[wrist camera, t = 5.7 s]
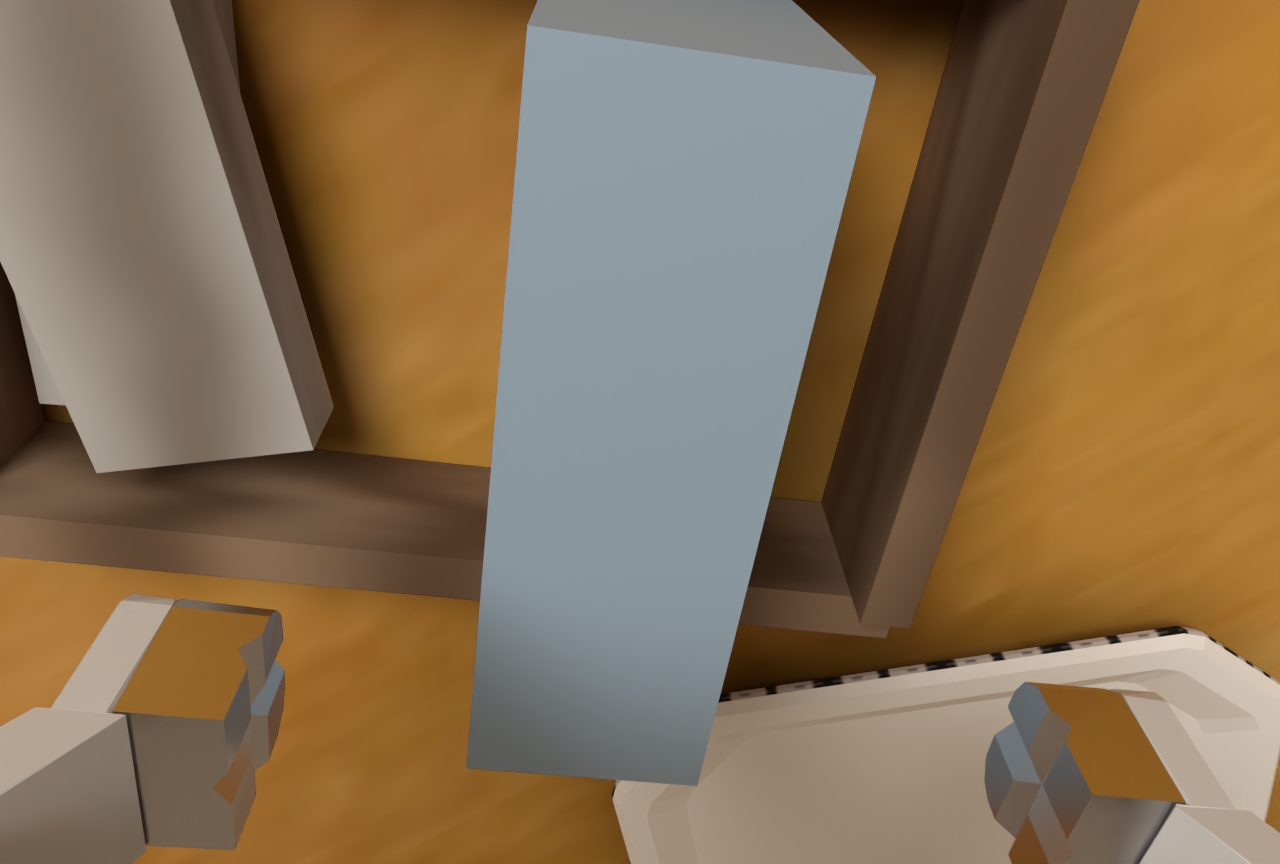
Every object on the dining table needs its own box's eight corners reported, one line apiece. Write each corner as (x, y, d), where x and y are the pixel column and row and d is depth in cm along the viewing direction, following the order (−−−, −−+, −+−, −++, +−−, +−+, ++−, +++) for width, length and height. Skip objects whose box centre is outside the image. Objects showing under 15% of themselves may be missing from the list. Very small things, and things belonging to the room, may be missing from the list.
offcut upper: (132, 428, 25) (96, 472, 23) (-79, -71, 19) (-147, -61, 17) (334, 407, 25) (313, 450, 23) (181, -103, 19) (138, -97, 17)
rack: (4, 455, 26) (-113, 576, 22) (-153, -310, 18) (-388, -355, 14) (852, 541, 29) (895, 666, 24) (1054, -107, 20) (1172, -91, 16)
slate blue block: (516, 436, 27) (466, 768, 17) (564, -63, 21) (527, 24, 11) (666, 452, 27) (697, 786, 18) (756, -33, 21) (876, 77, 12)
